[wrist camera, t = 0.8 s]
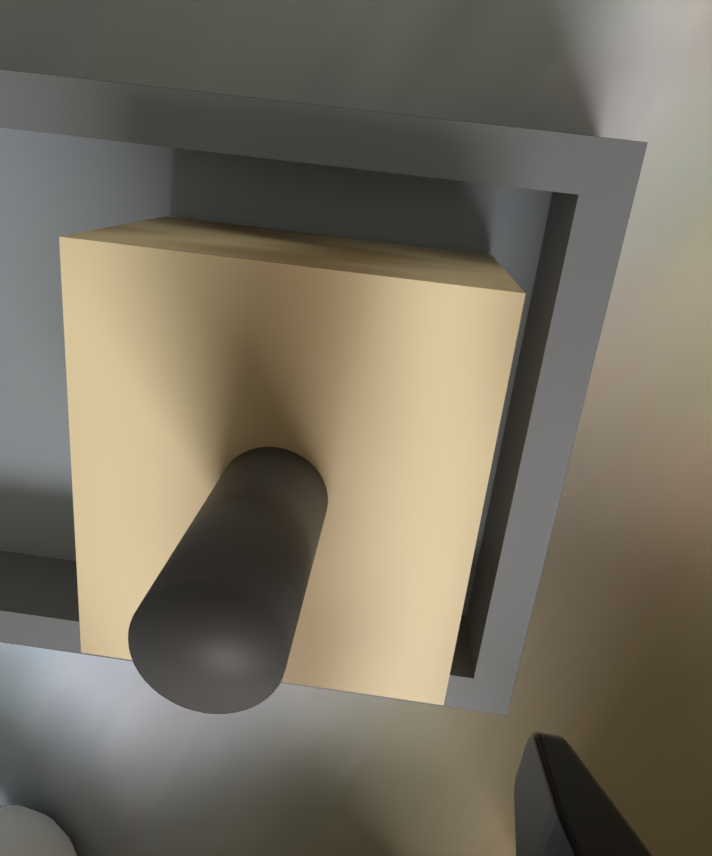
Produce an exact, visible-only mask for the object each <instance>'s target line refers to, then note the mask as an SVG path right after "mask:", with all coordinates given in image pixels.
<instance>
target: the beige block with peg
mask: <svg viewBox="0 0 712 856" xmlns="http://www.w3.org/2000/svg"><path fill="white" fill-rule="evenodd" d="M59 245H60V264H61V283H62V301H63V320H64V339H65V358H66V377H67V396H68V414H69V433H70V452H71V471H72V490H73V509H74V527H75V546H76V565H77V584H78V603H79V622H80V640H81V653H87V654H94V655H101V656H108V657H115V658H121V659H128V660H133V663H134V665H135V667H136V668H137V670H138V672H139V673H140V675H141V676H142V677H143V679H144V680H145V681H146V682H147V683H148V684H149V685H150V686H151V687H152V688H153V689H154V690H155V691H156V692H158V693H159V694H160V695H162V696H163V697H165V698H166V699H168V700H169V701H171V702H173V703H175V704H177V705H180V706H182V707H184V708H187V709H191V710H194V711H198V712H203V713H212V714H227V713H235V712H239V711H243V710H246V709H249V708H252V707H254V706H256V705H258V704H260V703H261V702H263V701H264V700H265V699H267V698H268V697H269V696H270V695H271V694H272V693H273V692H274V691H275V690H276V688H277V687H278V686H279V684H280V682H287V683H293V684H300V685H307V686H314V687H321V688H328V689H335V690H342V691H348V692H355V693H362V694H369V695H376V696H383V697H390V698H397V699H403V700H410V701H417V702H424V703H431V704H438V705H444V701H445V696H446V691H447V686H448V681H449V676H450V671H451V666H452V661H453V656H454V651H455V646H456V641H457V636H458V631H459V626H460V621H461V616H462V611H463V606H464V601H465V596H466V591H467V586H468V581H469V576H470V571H471V566H472V561H473V556H474V551H475V546H476V541H477V536H478V531H479V526H480V520H481V515H482V510H483V505H484V500H485V495H486V490H487V485H488V480H489V475H490V470H491V465H492V460H493V455H494V450H495V445H496V440H497V435H498V430H499V425H500V420H501V415H502V410H503V405H504V400H505V395H506V390H507V385H508V380H509V375H510V370H511V365H512V360H513V355H514V350H515V345H516V340H517V335H518V330H519V325H520V320H521V315H522V310H523V305H524V300H525V295H526V293H525V292H524V291H523V290H522V289H521V287H520V286H519V285H518V284H517V283H516V282H515V281H514V280H513V278H512V277H511V276H510V275H509V274H508V273H507V272H506V271H505V269H504V268H503V267H502V266H501V265H500V264H499V263H498V261H497V260H496V259H495V258H494V257H493V256H492V255H486V254H478V253H469V252H461V251H453V250H444V249H436V248H428V247H419V246H411V245H403V244H394V243H386V242H378V241H369V240H361V239H353V238H344V237H336V236H328V235H319V234H311V233H303V232H294V231H286V230H277V229H269V228H261V227H252V226H244V225H236V224H227V223H219V222H211V221H202V220H194V219H186V218H177V217H169V216H164V217H159V218H154V219H149V220H143V221H138V222H133V223H128V224H123V225H117V226H112V227H107V228H102V229H96V230H91V231H86V232H81V233H76V234H70V235H65V236H60V237H59Z"/></svg>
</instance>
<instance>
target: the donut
mask: <svg viewBox="0 0 712 856" xmlns="http://www.w3.org/2000/svg"><path fill="white" fill-rule="evenodd" d="M0 856H77V854H76V852H75V849H74V847H73V845H72V842H71V840H70V838H69V837H68V836H67V834H66V833H65V832H64V831H63V830H62V829H61V828H60V827H59V826H58V825H57V824H56V823H55V821H54V820H53V819H52V818H50V817H49V816H47V815H45V814H43V813H41V812H38V811H35V810H32V809H29V808H27V807H24V806H21V805H6V806H0Z"/></svg>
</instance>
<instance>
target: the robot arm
mask: <svg viewBox="0 0 712 856" xmlns="http://www.w3.org/2000/svg"><path fill="white" fill-rule="evenodd" d="M514 803H515V832H516V856H652V854H651V853H650V852H649V850H648V849H647V848H646V846H645V845H644V844H643V842H642V841H641V840H640V838H639V837H638V836H637V834H636V833H635V832H634V830H633V829H632V828H631V826H630V825H629V824H628V822H627V821H626V820H625V818H624V817H623V816H622V814H621V813H620V812H619V810H618V809H617V808H616V806H615V805H614V804H613V802H612V801H611V800H610V798H609V797H608V796H607V794H606V793H605V792H604V790H603V789H602V788H601V786H600V785H599V784H598V782H597V781H596V780H595V778H594V777H593V776H592V774H591V773H590V772H589V770H588V769H587V768H586V766H585V765H584V764H583V762H582V761H581V760H580V758H579V757H578V756H577V754H576V753H575V752H574V750H573V749H572V748H571V746H570V745H569V744H568V742H567V741H566V740H565V739H563V738H562V737H560V736H555V735H550V734H544V733H539V732H535V733H532V734H531V735H530V737H529V739H528V741H527V744H526V747H525V750H524V754H523V757H522V760H521V763H520V766H519V769H518V772H517V775H516V780H515V788H514Z"/></svg>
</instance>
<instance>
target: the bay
mask: <svg viewBox="0 0 712 856" xmlns="http://www.w3.org/2000/svg"><path fill="white" fill-rule="evenodd" d="M647 143H648V142H640V141H631V140H623V139H614V138H605V137H596V136H587V135H578V134H569V133H560V132H552V131H543V130H534V129H525V128H516V127H507V126H498V125H489V124H480V123H472V122H463V121H454V120H445V119H436V118H427V117H418V116H409V115H401V114H392V113H383V112H374V111H365V110H356V109H347V108H338V107H329V106H321V105H312V104H303V103H294V102H285V101H276V100H267V99H258V98H249V97H241V96H232V95H223V94H214V93H205V92H196V91H187V90H178V89H170V88H161V87H152V86H143V85H134V84H125V83H116V82H107V81H98V80H90V79H81V78H72V77H63V76H54V75H45V74H36V73H27V72H19V71H10V70H1V69H0V642H4V643H11V644H18V645H25V646H32V647H38V648H45V649H52V650H59V651H66V652H73V653H80V654H86V655H93V656H100V657H107V658H114V659H121V658H115V657H108V656H101V655H94V654H87V653H81V640H80V622H79V603H78V584H77V565H76V546H75V527H74V509H73V490H72V471H71V452H70V433H69V414H68V396H67V377H66V358H65V339H64V320H63V301H62V283H61V264H60V245H59V237H60V236H65V235H70V234H76V233H81V232H86V231H91V230H96V229H102V228H107V227H112V226H117V225H123V224H128V223H133V222H138V221H143V220H149V219H154V218H159V217H164V216H169V217H177V218H186V219H194V220H202V221H211V222H219V223H227V224H236V225H244V226H252V227H261V228H269V229H277V230H286V231H294V232H303V233H311V234H319V235H328V236H336V237H344V238H353V239H361V240H369V241H378V242H386V243H394V244H403V245H411V246H419V247H428V248H436V249H444V250H453V251H461V252H469V253H478V254H486V255H492V256H493V257H494V258H495V259H496V260H497V261H498V263H499V264H500V265H501V266H502V267H503V268H504V269H505V271H506V272H507V273H508V274H509V275H510V276H511V277H512V278H513V280H514V281H515V282H516V283H517V284H518V285H519V286H520V287H521V289H522V290H523V291H524V292H525V293H526V295H525V300H524V305H523V310H522V315H521V320H520V325H519V330H518V335H517V340H516V345H515V350H514V355H513V360H512V365H511V370H510V375H509V380H508V385H507V390H506V395H505V400H504V405H503V410H502V415H501V420H500V425H499V430H498V435H497V440H496V445H495V450H494V455H493V460H492V465H491V470H490V475H489V480H488V485H487V490H486V495H485V500H484V505H483V510H482V515H481V520H480V526H479V531H478V536H477V541H476V546H475V551H474V556H473V561H472V566H471V571H470V576H469V581H468V586H467V591H466V596H465V601H464V606H463V611H462V616H461V621H460V626H459V631H458V636H457V641H456V646H455V651H454V656H453V661H452V666H451V671H450V676H449V681H448V686H447V691H446V696H445V701H444V705H438V704H431V703H424V702H417V701H410V700H403V699H397V698H390V697H383V696H376V695H369V694H362V693H355V692H348V691H342V690H335V689H328V688H321V687H314V686H307V685H300V684H293V683H287V682H280V683H286V684H293V685H300V686H306V687H313V688H320V689H327V690H334V691H341V692H348V693H355V694H361V695H368V696H375V697H382V698H389V699H396V700H403V701H410V702H416V703H423V704H430V705H437V706H444V707H451V708H458V709H465V710H471V711H478V712H485V713H492V714H499V715H506V716H507V712H508V708H509V704H510V700H511V696H512V692H513V688H514V684H515V680H516V676H517V672H518V668H519V664H520V660H521V655H522V651H523V647H524V643H525V639H526V635H527V631H528V627H529V623H530V619H531V615H532V611H533V607H534V603H535V598H536V594H537V590H538V586H539V582H540V578H541V574H542V570H543V566H544V562H545V558H546V554H547V550H548V546H549V541H550V537H551V533H552V529H553V525H554V521H555V517H556V513H557V509H558V505H559V501H560V497H561V493H562V489H563V484H564V480H565V476H566V472H567V468H568V464H569V460H570V456H571V452H572V448H573V444H574V440H575V436H576V432H577V427H578V423H579V419H580V415H581V411H582V407H583V403H584V399H585V395H586V391H587V387H588V383H589V379H590V375H591V370H592V366H593V362H594V358H595V354H596V350H597V346H598V342H599V338H600V334H601V330H602V326H603V322H604V318H605V314H606V309H607V305H608V301H609V297H610V293H611V289H612V285H613V281H614V277H615V273H616V269H617V265H618V261H619V257H620V252H621V248H622V244H623V240H624V236H625V232H626V228H627V224H628V220H629V216H630V212H631V208H632V204H633V200H634V195H635V191H636V187H637V183H638V179H639V175H640V171H641V167H642V163H643V159H644V155H645V151H646V147H647ZM121 660H128V659H121ZM128 661H133V660H128Z"/></svg>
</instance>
